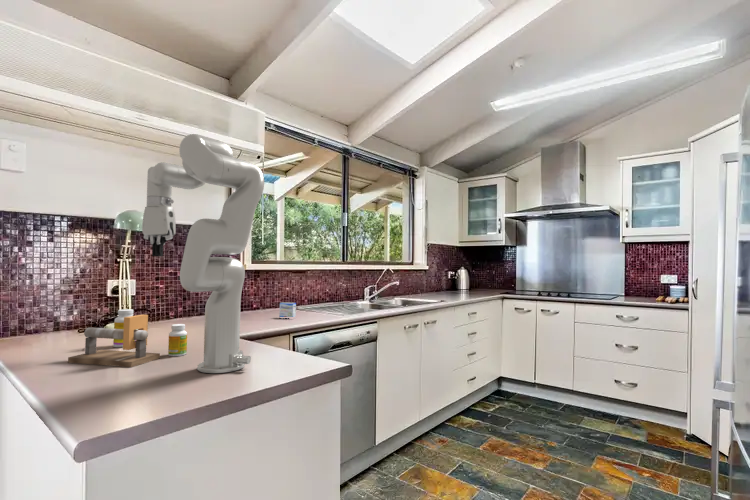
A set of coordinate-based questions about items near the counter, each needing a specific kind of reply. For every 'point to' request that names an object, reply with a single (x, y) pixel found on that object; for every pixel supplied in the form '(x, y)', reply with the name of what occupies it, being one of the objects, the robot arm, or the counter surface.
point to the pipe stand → (110, 355)
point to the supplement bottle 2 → (177, 340)
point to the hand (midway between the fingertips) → (157, 256)
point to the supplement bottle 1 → (121, 325)
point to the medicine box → (287, 310)
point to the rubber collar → (129, 327)
